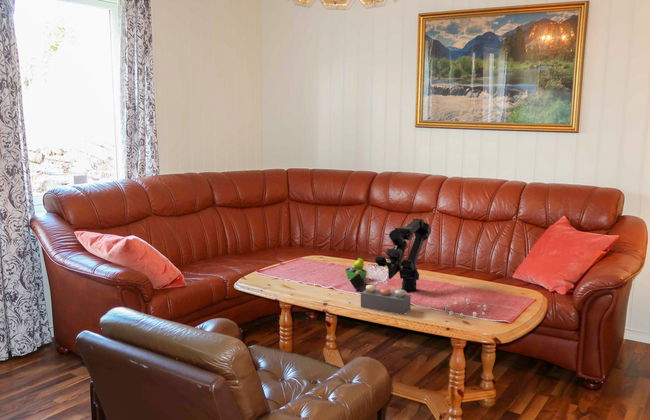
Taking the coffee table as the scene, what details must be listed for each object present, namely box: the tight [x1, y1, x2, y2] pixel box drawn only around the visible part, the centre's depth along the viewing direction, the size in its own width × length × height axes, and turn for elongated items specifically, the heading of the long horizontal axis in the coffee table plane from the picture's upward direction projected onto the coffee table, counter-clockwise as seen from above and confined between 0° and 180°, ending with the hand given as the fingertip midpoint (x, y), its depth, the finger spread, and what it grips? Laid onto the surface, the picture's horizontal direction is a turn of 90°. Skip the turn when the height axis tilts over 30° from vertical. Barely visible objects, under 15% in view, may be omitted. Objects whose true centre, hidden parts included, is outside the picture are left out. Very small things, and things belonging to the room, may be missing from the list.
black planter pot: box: [349, 274, 377, 293], centre depth 301 cm, size 13×8×11 cm
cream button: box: [366, 284, 377, 293], centre depth 275 cm, size 5×5×4 cm
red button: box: [379, 288, 392, 295], centre depth 271 cm, size 5×5×4 cm
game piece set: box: [444, 297, 487, 319], centre depth 267 cm, size 19×20×4 cm
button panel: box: [360, 288, 412, 316], centre depth 272 cm, size 22×8×7 cm, turn 59°
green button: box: [394, 288, 406, 298], centre depth 267 cm, size 5×5×4 cm
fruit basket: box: [344, 257, 368, 281], centre depth 316 cm, size 11×9×11 cm
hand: (389, 278), depth 274 cm, fingers closed
